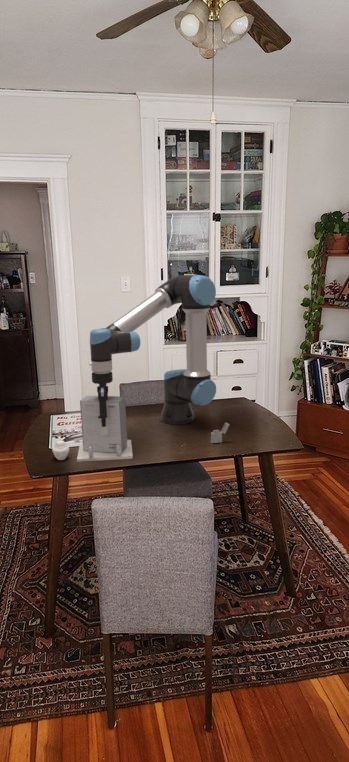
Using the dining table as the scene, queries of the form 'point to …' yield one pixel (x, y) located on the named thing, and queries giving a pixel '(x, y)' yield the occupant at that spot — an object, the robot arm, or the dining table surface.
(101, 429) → the robot arm
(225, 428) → the lighter
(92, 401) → the hard drive box
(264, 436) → the dining table surface
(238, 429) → the dining table surface
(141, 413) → the dining table surface
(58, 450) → the white lidded jar
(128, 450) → the pin tray
